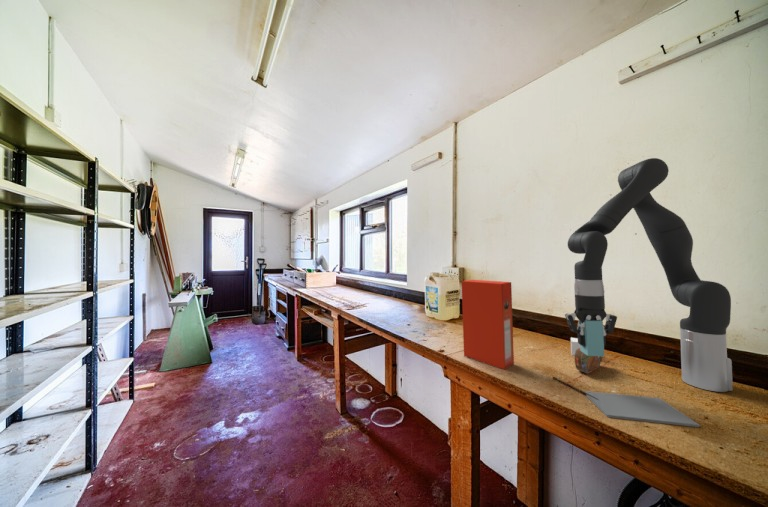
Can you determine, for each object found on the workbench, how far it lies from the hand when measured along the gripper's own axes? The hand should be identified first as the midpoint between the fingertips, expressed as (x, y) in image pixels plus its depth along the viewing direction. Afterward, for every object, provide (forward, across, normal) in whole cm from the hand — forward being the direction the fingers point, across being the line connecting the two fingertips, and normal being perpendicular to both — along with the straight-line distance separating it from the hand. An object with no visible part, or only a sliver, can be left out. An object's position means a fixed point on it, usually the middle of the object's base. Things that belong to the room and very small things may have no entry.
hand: (591, 345), depth 83 cm
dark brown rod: (+13, +7, +4) cm, 15 cm away
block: (+2, 0, 0) cm, 2 cm away
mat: (+13, -4, +12) cm, 18 cm away
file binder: (+12, +30, -15) cm, 36 cm away
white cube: (+13, -9, -28) cm, 32 cm away
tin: (+13, -5, -13) cm, 19 cm away
